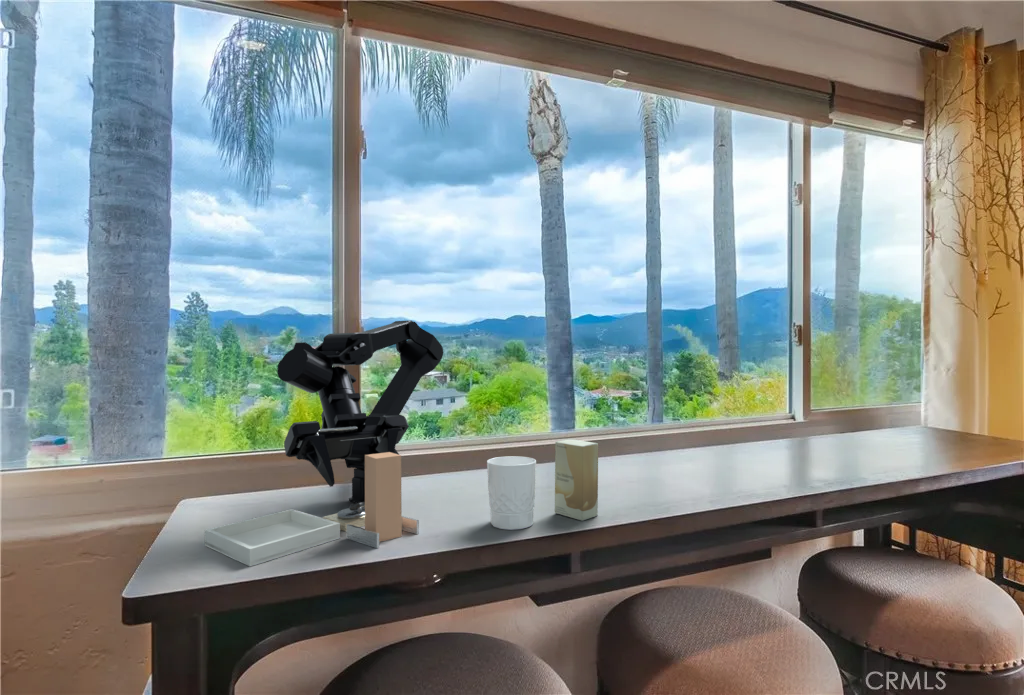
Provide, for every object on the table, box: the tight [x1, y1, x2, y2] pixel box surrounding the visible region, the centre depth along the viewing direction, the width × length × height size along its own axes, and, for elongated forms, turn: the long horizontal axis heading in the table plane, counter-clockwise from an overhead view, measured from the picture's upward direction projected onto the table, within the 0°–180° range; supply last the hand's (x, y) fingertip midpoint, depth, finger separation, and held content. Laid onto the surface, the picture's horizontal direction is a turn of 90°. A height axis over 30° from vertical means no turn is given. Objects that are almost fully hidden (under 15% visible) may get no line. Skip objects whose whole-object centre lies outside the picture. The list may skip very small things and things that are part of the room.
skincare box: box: [554, 438, 599, 522], centre depth 88 cm, size 6×4×12 cm
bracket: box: [322, 501, 420, 549], centre depth 81 cm, size 9×16×3 cm, turn 53°
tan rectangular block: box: [364, 452, 403, 543], centre depth 78 cm, size 4×4×12 cm
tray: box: [204, 508, 341, 567], centre depth 76 cm, size 13×13×2 cm
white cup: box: [486, 455, 537, 531], centre depth 83 cm, size 8×8×10 cm
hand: (362, 480), depth 80 cm, fingers open, 9 cm apart
